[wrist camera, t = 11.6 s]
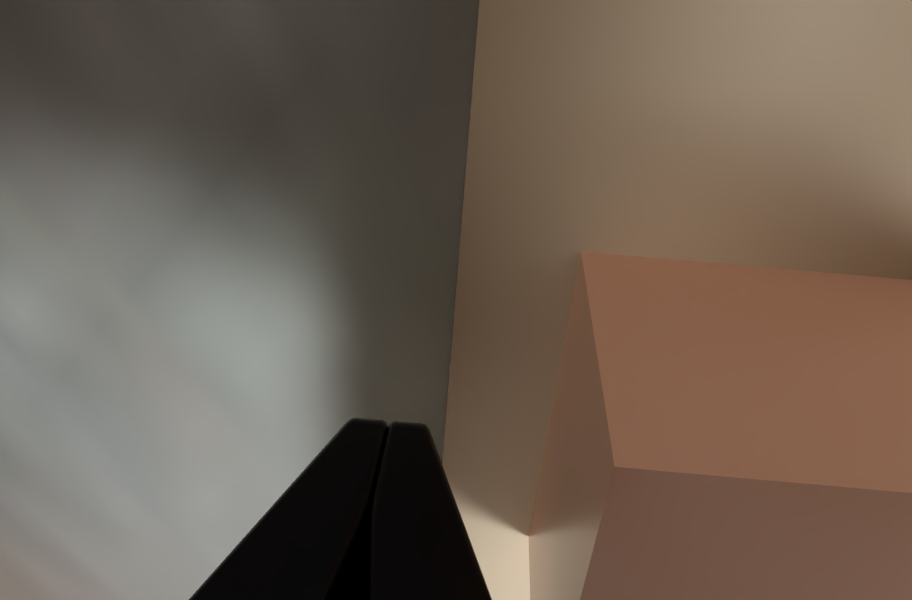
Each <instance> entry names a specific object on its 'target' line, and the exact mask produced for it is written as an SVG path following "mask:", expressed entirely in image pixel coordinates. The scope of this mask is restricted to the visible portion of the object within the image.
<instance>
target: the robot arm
mask: <svg viewBox="0 0 912 600" xmlns="http://www.w3.org/2000/svg"><path fill="white" fill-rule="evenodd" d="M189 600H492V598H491V596H490V593H489V590H488V588H487V585H486V582H485V579H484V577H483V574H482V571H481V569H480V566H479V563H478V560H477V558H476V555H475V552H474V550H473V547H472V544H471V541H470V539H469V536H468V533H467V531H466V528H465V525H464V522H463V520H462V517H461V514H460V512H459V509H458V506H457V503H456V501H455V498H454V495H453V493H452V490H451V487H450V484H449V482H448V479H447V476H446V474H445V471H444V468H443V465H442V463H441V460H440V457H439V455H438V452H437V449H436V446H435V444H434V441H433V438H432V436H431V433H430V430H429V428H428V427H427V426H426V425H425V424H421V423H409V422H398V421H395V422H392V423H391V424H390V425H389V427H388V424H387V423H386V422H385V421H383V420H374V419H363V418H353V419H350V420H349V421H348V422H347V423H346V424H345V425H344V426H343V427H342V428H341V429H340V430H339V431H338V433H337V434H336V435H335V436H334V437H333V438H332V439H331V440H330V442H329V443H328V444H327V445H326V446H325V447H324V448H323V449H322V451H321V452H320V453H319V454H318V455H317V456H316V457H315V458H314V460H313V461H312V462H311V463H310V464H309V465H308V466H307V467H306V469H305V470H304V471H303V472H302V473H301V474H300V475H299V476H298V478H297V479H296V480H295V481H294V482H293V483H292V484H291V485H290V487H289V488H288V489H287V490H286V491H285V492H284V493H283V494H282V496H281V497H280V498H279V499H278V500H277V501H276V502H275V503H274V505H273V506H272V507H271V508H270V509H269V510H268V511H267V512H266V514H265V515H264V516H263V517H262V518H261V519H260V520H259V521H258V523H257V524H256V525H255V526H254V527H253V528H252V529H251V530H250V532H249V533H248V534H247V535H246V536H245V537H244V538H243V539H242V541H241V542H240V543H239V544H238V545H237V546H236V547H235V548H234V550H233V551H232V552H231V553H230V554H229V555H228V556H227V557H226V559H225V560H224V561H223V562H222V563H221V564H220V565H219V566H218V568H217V569H216V570H215V571H214V572H213V573H212V574H211V575H210V577H209V578H208V579H207V580H206V581H205V582H204V583H203V584H202V585H201V587H200V588H199V589H198V590H197V591H196V592H195V593H194V594H193V596H192V597H191V598H190V599H189Z"/></svg>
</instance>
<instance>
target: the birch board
mask: <svg viewBox="0 0 912 600" xmlns="http://www.w3.org/2000/svg"><path fill="white" fill-rule="evenodd" d="M581 252H593V253H604V254H616V255H628V256H639V257H651V258H662V259H674V260H686V261H697V262H709V263H720V264H732V265H744V266H755V267H767V268H778V269H790V270H802V271H813V272H825V273H836V274H848V275H860V276H871V277H883V278H895V279H906V280H912V0H479V11H478V24H477V36H476V49H475V61H474V73H473V86H472V98H471V110H470V123H469V135H468V148H467V160H466V172H465V185H464V197H463V210H462V222H461V234H460V247H459V259H458V272H457V284H456V296H455V309H454V321H453V333H452V346H451V358H450V371H449V383H448V395H447V408H446V420H445V433H444V445H443V457H442V465H443V468H444V471H445V474H446V476H447V479H448V482H449V484H450V487H451V490H452V493H453V495H454V498H455V501H456V503H457V506H458V509H459V512H460V514H461V517H462V520H463V522H464V525H465V528H466V531H467V533H468V536H469V539H470V541H471V544H472V547H473V550H474V552H475V555H476V558H477V560H478V563H479V566H480V569H481V571H482V574H483V577H484V579H485V582H486V585H487V588H488V590H489V593H490V596H491V598H492V600H530V572H529V531H530V526H531V520H532V515H533V509H534V504H535V499H536V493H537V488H538V482H539V477H540V471H541V466H542V461H543V455H544V450H545V444H546V439H547V433H548V428H549V423H550V417H551V412H552V406H553V401H554V395H555V390H556V384H557V379H558V374H559V368H560V363H561V357H562V352H563V346H564V341H565V336H566V330H567V325H568V319H569V314H570V308H571V303H572V298H573V292H574V287H575V281H576V276H577V270H578V265H579V260H580V254H581Z"/></svg>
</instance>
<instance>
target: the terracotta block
mask: <svg viewBox="0 0 912 600" xmlns="http://www.w3.org/2000/svg"><path fill="white" fill-rule="evenodd" d="M529 572H530V600H912V280H906V279H895V278H883V277H871V276H860V275H848V274H836V273H825V272H813V271H802V270H790V269H778V268H767V267H755V266H744V265H732V264H720V263H709V262H697V261H686V260H674V259H662V258H651V257H639V256H628V255H616V254H604V253H593V252H581V254H580V260H579V265H578V270H577V276H576V281H575V287H574V292H573V298H572V303H571V308H570V314H569V319H568V325H567V330H566V336H565V341H564V346H563V352H562V357H561V363H560V368H559V374H558V379H557V384H556V390H555V395H554V401H553V406H552V412H551V417H550V423H549V428H548V433H547V439H546V444H545V450H544V455H543V461H542V466H541V471H540V477H539V482H538V488H537V493H536V499H535V504H534V509H533V515H532V520H531V526H530V531H529Z"/></svg>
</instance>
